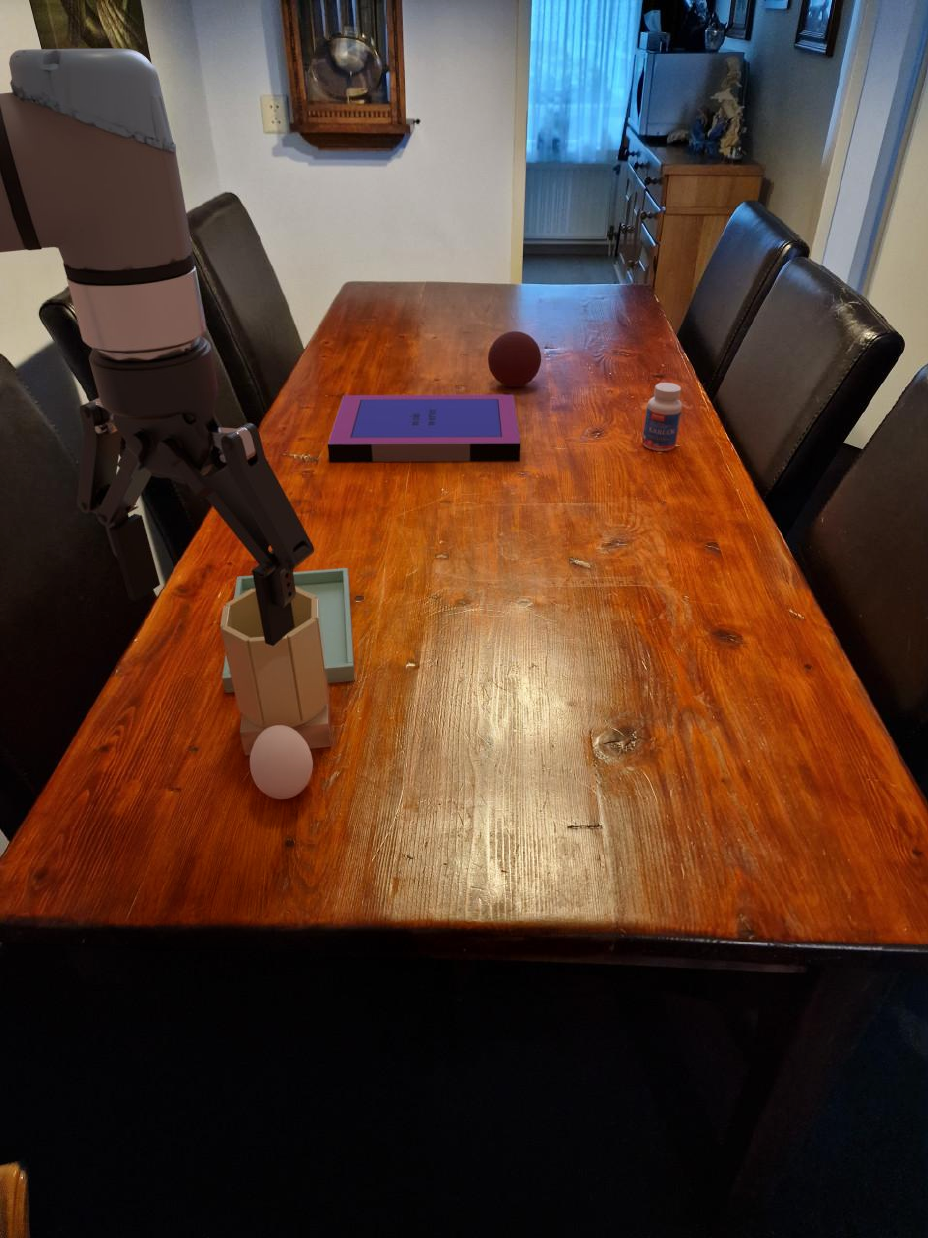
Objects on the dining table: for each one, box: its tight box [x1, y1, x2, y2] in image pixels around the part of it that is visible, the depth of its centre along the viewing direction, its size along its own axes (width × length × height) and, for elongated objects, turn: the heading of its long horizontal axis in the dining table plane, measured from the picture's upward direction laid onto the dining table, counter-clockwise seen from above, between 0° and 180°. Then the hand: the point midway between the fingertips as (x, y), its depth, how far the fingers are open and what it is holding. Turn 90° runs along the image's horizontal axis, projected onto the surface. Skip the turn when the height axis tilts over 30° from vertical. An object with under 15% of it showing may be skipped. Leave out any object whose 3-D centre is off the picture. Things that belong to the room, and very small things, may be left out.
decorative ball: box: [487, 330, 542, 388], centre depth 153 cm, size 10×10×10 cm
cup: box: [219, 586, 330, 728], centre depth 75 cm, size 8×8×10 cm
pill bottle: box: [641, 382, 683, 452], centre depth 130 cm, size 6×5×10 cm
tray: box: [221, 567, 356, 694], centre depth 91 cm, size 19×13×2 cm
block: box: [239, 687, 332, 756], centre depth 79 cm, size 8×8×3 cm
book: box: [327, 394, 521, 463], centre depth 136 cm, size 21×3×30 cm
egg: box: [249, 725, 314, 800], centre depth 70 cm, size 5×5×7 cm
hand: (210, 613), depth 65 cm, fingers open, 13 cm apart
